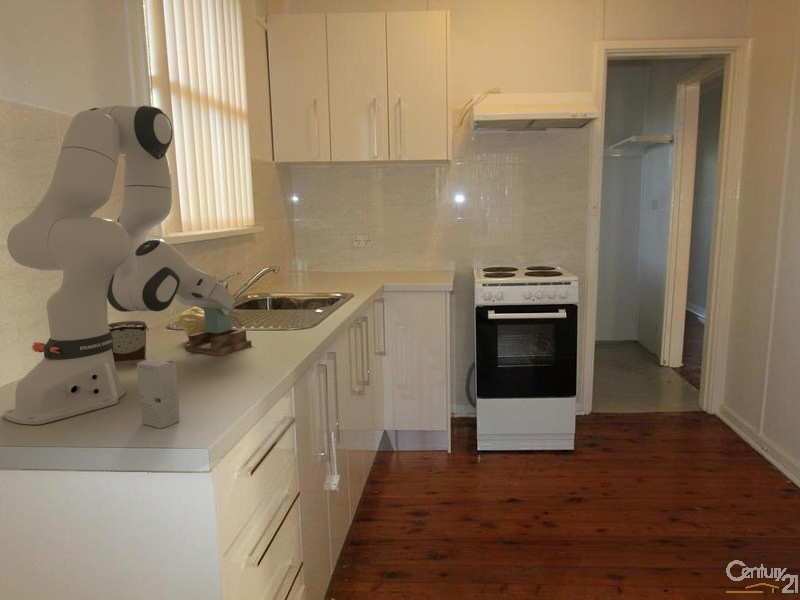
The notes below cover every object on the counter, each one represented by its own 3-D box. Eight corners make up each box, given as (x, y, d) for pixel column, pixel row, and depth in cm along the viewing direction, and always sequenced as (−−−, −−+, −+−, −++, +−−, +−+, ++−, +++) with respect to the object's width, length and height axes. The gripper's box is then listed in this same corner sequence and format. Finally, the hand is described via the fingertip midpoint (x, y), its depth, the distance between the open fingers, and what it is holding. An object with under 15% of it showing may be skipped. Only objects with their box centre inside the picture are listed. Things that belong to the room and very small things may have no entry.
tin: (218, 333, 163) (215, 298, 161) (205, 331, 165) (202, 297, 164) (232, 329, 167) (229, 295, 165) (219, 328, 170) (216, 294, 168)
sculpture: (175, 342, 174) (172, 307, 173) (206, 333, 185) (203, 300, 183) (202, 346, 169) (199, 310, 167) (232, 337, 179) (229, 303, 177)
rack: (219, 355, 158) (218, 339, 157) (185, 350, 165) (184, 334, 164) (251, 345, 168) (250, 330, 167) (217, 341, 175) (216, 326, 174)
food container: (155, 353, 162) (151, 319, 160) (151, 359, 156) (147, 323, 154) (107, 357, 159) (103, 322, 157) (101, 363, 153) (97, 327, 151)
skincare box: (140, 424, 109) (134, 362, 107) (160, 416, 113) (154, 356, 111) (163, 429, 106) (156, 366, 104) (182, 421, 110) (176, 360, 108)
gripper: (156, 290, 160) (188, 318, 170) (207, 295, 149) (238, 324, 159) (168, 272, 163) (199, 300, 173) (219, 275, 152) (249, 305, 162)
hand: (218, 312), depth 166 cm, fingers closed on tin, 5 cm apart
